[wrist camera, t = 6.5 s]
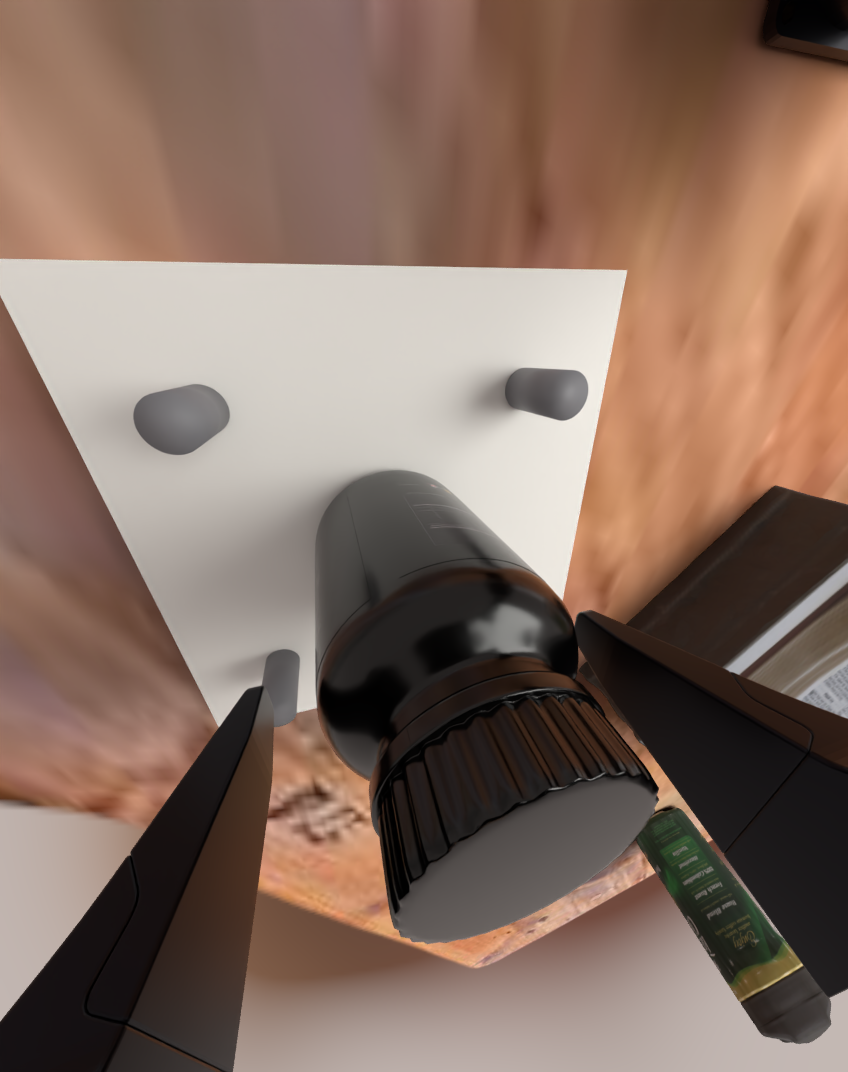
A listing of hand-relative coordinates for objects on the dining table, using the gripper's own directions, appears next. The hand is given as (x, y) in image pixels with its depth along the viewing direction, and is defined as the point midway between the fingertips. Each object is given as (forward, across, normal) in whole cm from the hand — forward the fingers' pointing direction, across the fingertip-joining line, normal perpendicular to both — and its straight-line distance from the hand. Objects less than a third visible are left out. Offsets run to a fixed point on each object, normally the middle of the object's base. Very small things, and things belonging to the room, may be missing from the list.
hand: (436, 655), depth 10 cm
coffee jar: (+9, -35, +54) cm, 65 cm away
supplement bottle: (+7, 0, 0) cm, 7 cm away
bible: (+9, -29, +16) cm, 35 cm away
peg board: (+9, 0, 0) cm, 9 cm away
